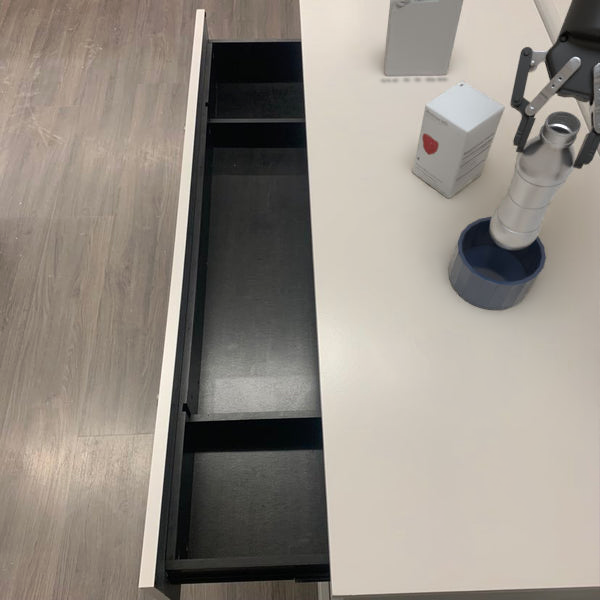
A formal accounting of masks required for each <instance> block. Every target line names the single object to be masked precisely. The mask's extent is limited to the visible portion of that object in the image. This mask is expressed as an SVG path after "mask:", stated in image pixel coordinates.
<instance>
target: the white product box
mask: <svg viewBox="0 0 600 600" xmlns="http://www.w3.org/2000/svg"><path fill="white" fill-rule="evenodd" d="M505 109H506V107H505V106H504V105H503V104H501V103H500V102H498V101H496V100H495V99H493V98H491V97H490V96H488V95H487V94H486V93H485V92H484V91H481V90H478V89H476V88H475V87H474V86H472V85H470V84H468V83H466V82H465V81H463V80H460V81H459V82H457V83H456V84H454V85H453V86H452V87H450V88H448V89H447V90H445V91H444V92H443V93H441V94H440V95H438V96H436V97H434V98H432V100H430V101H428V102H427V103H426V104H425V107H424V110H423V117H422V121H421V122H422V123H421V126H420V131H419V136H418V142H417V148H416V152H415V156H414V161H413V162H414V163H413V167H412V174H414V175H416V177H418V178H419V179H421V180H422V181H424V182H425V183H426V184H427V185H429V186H430V187H432V189H434V190H436V191H437V192H438V193H440V194H441V195H442V196H444V197H445V198H446V199H451V198H453V197H454V196H455V195H457V194H458V193H459V192H460V191H462V190H463V189H464V188H466V187H467V186H468V185H469V184H471V183H472V182H473V181H474V180H476V179H477V178H479V177H480V176H481V175H482V173H483V170H484V166H485V164H486V161H487V158H488V156H489V152H490V150H491V147H492V144H493V142H494V139H495V136H496V133H497V131H498V128H499V125H500V122H501V120H502V116H503V114H504V111H505Z"/></svg>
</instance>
